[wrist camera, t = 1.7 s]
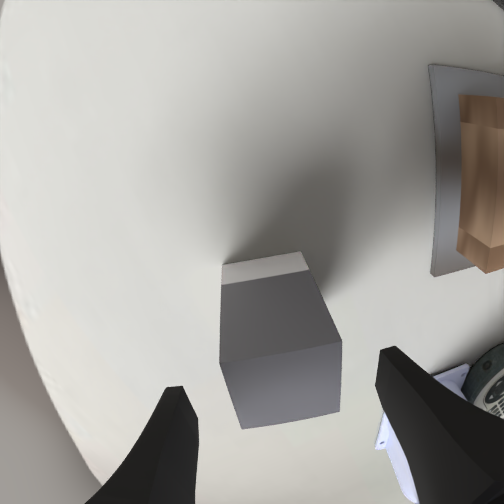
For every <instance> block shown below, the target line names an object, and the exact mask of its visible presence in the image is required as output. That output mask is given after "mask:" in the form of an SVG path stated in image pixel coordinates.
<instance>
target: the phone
mask: <svg viewBox="0 0 504 504" xmlns="http://www.w3.org/2000/svg"><path fill="white" fill-rule="evenodd" d="M493 1H494V2H495V3H496V4H497V5H499V6H500V7H501V8H502V9H503V10H504V0H493Z"/></svg>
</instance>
